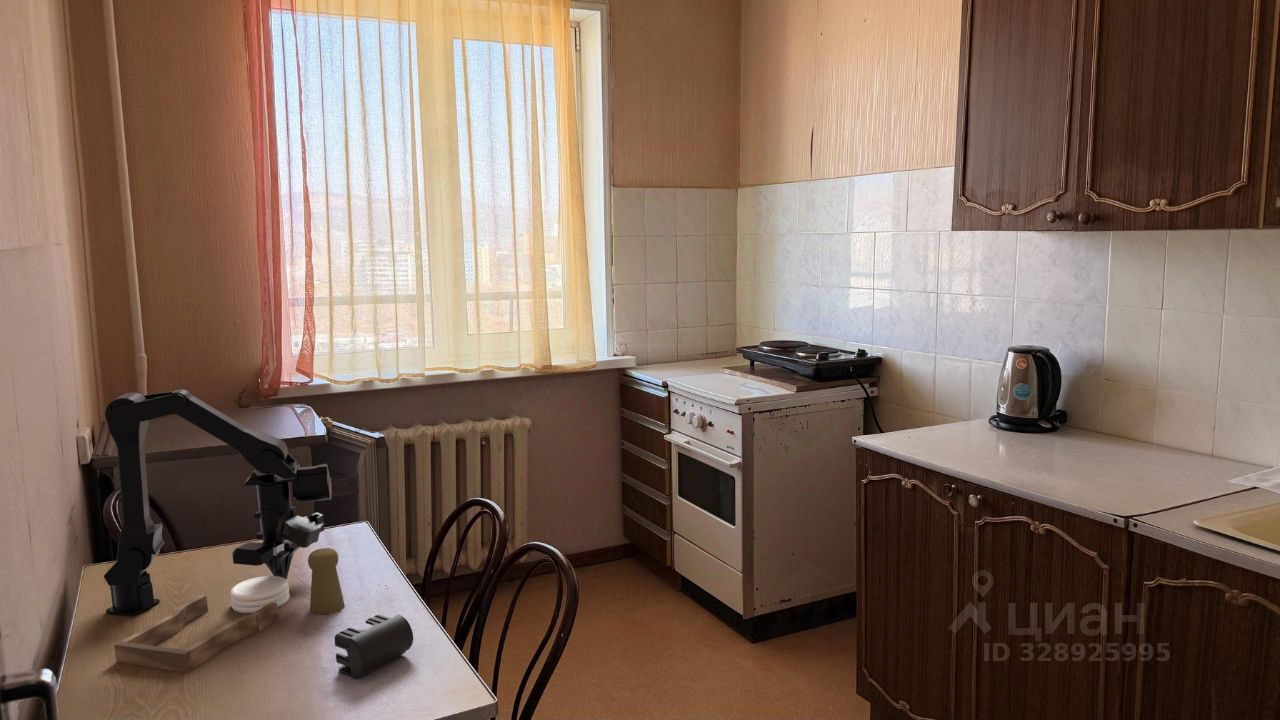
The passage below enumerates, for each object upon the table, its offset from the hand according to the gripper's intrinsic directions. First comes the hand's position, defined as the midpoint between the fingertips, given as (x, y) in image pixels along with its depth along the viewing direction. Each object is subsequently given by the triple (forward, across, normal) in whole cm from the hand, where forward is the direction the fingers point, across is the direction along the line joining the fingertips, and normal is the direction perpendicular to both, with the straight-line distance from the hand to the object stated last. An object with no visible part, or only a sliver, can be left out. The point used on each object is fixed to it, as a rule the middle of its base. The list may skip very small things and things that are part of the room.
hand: (282, 583), depth 171 cm
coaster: (+2, -6, 0) cm, 6 cm away
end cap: (+1, -23, -35) cm, 42 cm away
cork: (+1, -6, -14) cm, 15 cm away
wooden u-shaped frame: (+1, -22, 0) cm, 22 cm away
